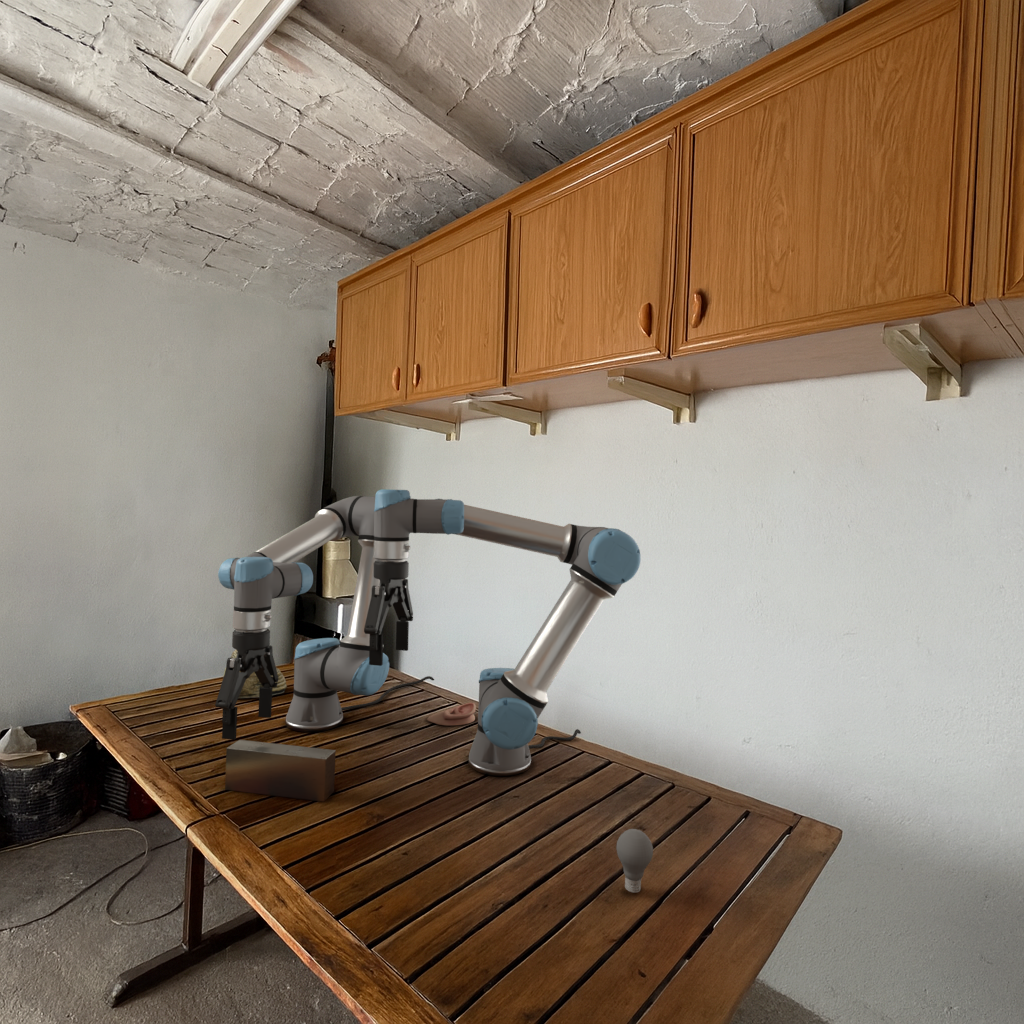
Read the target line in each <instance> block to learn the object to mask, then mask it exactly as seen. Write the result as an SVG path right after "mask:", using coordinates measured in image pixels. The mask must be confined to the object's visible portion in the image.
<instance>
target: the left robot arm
mask: <svg viewBox="0 0 1024 1024" xmlns="http://www.w3.org/2000/svg"><path fill="white" fill-rule="evenodd" d="M374 509H375V496H366V495H354V496H349V497H346V498H345V497H344V498H343V499H340V500H338V501H336V502H333V503H331V504H329V505H327V506H324V507H323V508H321V509H320V510H318V511H317V512H316V513H315V515H314V517H313V518H311V519H310V520H308V521H306V522H304V523H303V524H301V525H299V526H297V527H295V528H294V529H292V530H291V531H288V532H287V533H285V534H283V535H282V536H280V537H277V539H274V540H273V541H271V542H269V543H268V544H266V545H264V546H262V547H261V548H259V549H257V550H255V551H254V552H252V553H250V554H248V555H246V556H244V557H243V556H242V557H231V558H227V559H225V560H224V561H222V563H221V564H220V565H219V569H218V574H217V576H218V581H219V583H220V584H221V586H222V587H224V588H225V589H229V590H234V591H233V613H232V614H233V615H232V628H233V631H232V635H231V636H232V637H231V640H232V641H231V647H232V649H234V650H237V657H236V658H230V657H227V659H226V666H225V668H226V671H225V670H224V672H225V674H224V673H223V675H224V676H223V677H222V681H221V684H220V688H219V690H218V694H217V698H216V700H215V704H214V705H215V708H220V709H222V716H221V717H222V718H221V719H222V720H221V723H222V724H221V725H222V727H221V739H222V740H231V741H235V740H236V739H237V728H238V727H237V726H238V706H236V705H237V702H238V700H239V698H238V697H239V695H240V693H241V690H242V688H243V686H244V683H245V681H246V679H247V678H249V677H250V675H251V674H252V673H253V672H255V674H256V676H257V677H258V679H259V681H260V683H261V685H262V686H264V687H261V688H259V697H258V712H257V713H258V714H257V715H258V718H265V719H270V718H272V709H273V708H272V706H273V695H272V687H274V688H276V687H277V685H278V683H275V682H278V680H279V678H278V674H277V670H276V668H277V665H276V662H275V657H274V654H273V653H274V652H273V650H274V649H273V648H274V647H273V645H270V644H271V630H270V629H269V628H270V627H271V619H272V617H273V616H272V615H271V614H272V600H273V599H279V598H286V597H297V596H299V595H303V594H305V593H307V592H309V590H310V589H311V588H312V586H313V583H314V574H313V571H312V569H311V567H310V566H309V565H308V564H306V563H305V562H299V561H300V560H301V559H303V558H305V557H306V556H308V555H309V554H311V553H312V552H314V551H316V550H317V549H319V548H320V547H322V546H324V545H325V544H327V543H328V542H336V541H339V540H340V539H342V538H346V537H358V539H357V543H358V544H359V545H360V547H361V553H360V559H359V565H358V571H357V577H356V582H355V588H354V594H353V600H352V605H351V611H350V617H349V618H350V619H349V624H348V630H347V634H346V635H345V636H344V637H343V638H342V639H340V640H339V638H336V637H322V638H313V639H307V640H304V641H302V642H299V643H298V644H297V645H296V647H295V652H294V653H295V654H294V657H293V659H294V660H293V662H294V663H293V665H294V667H293V695H292V696H293V697H292V699H291V702H290V704H289V708H288V711H287V713H286V715H285V726H286V728H287V729H289V730H291V731H294V732H295V731H296V732H301V733H316V732H325V731H329V730H332V729H335V728H337V727H339V726H340V725H342V723H343V722H344V714H343V711H348V710H353V709H354V710H355V709H360V708H366V707H369V706H373V705H376V704H378V703H380V702H381V701H382V700H383V699H384V697H386V696H387V695H388V694H389V693H391V692H392V691H395V690H397V689H399V688H403V687H408V686H413V685H419V684H420V683H422V682H424V681H426V680H430V681H435V679H434V677H433V676H430V675H427V676H424V677H423V678H420V679H418V680H415V681H410V682H407V683H406V682H405V683H400V684H397V685H395V686H392V687H390V688H389V689H387V690H386V691H385V692H384V693H382V694H381V695H380V696H379V698H377V699H375V700H373V701H370V702H366V703H360V704H353V705H348V706H341V702H340V699H339V695H338V692H343V693H349V694H352V695H353V696H372V695H374V694H376V693H377V692H378V691H379V690H380V689H381V687H383V685H384V684H385V682H386V680H387V678H388V675H389V671H390V661H389V656H388V655H387V654H385V653H384V652H383V665H382V666H377V665H369V640H370V634H365V632H364V627H365V623H366V618H367V614H368V609H369V605H370V600H371V595H372V586H379V584H380V580H379V579H376V578H374V576H373V570H374V562H375V561H376V559H375V558H374ZM410 534H411V533H409V535H410ZM383 647H384V644H383ZM275 665H276V666H275ZM233 669H234V670H233ZM271 675H272V676H273V677H272V676H271Z"/></svg>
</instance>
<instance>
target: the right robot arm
mask: <svg viewBox="0 0 1024 1024" xmlns="http://www.w3.org/2000/svg"><path fill="white" fill-rule="evenodd" d="M374 497H375V509H374V558H375V559H376V561H375V562H374V570H373V576H374V578H376V579H379V580H380V584H379V586H372V595H371V600H370V605H369V609H368V614H367V618H366V623H365V627H364V632H365V634H370V640H369V665H377V666H382V665H383V653H384V646H383V645H384V633H382V631H383V628H384V625H385V622H386V618H387V615H388V613H389V610H390V608H391V607H393V610H394V612H395V614H396V617H397V621H395V622H396V624H395V626H396V627H395V650H396V651H406V652H407V651H409V632H410V630H409V625H410V624H409V623H410V622H413V620H414V610H413V606H412V600H411V594H410V590H409V579H408V578H409V571H410V570H409V569H410V567H409V566H410V565H409V561H408V559H409V553H410V552H409V551H410V550H411V545H410V534H432V535H433V534H437V535H439V534H440V535H448V536H449V535H456V536H461V537H465V538H470V539H475V540H479V541H484V542H488V543H492V544H496V545H501V546H505V547H510V548H515V549H518V550H519V549H520V550H524V551H527V552H533V553H538V554H542V555H546V556H552V557H555V558H557V559H558V561H559V562H560V563H564V564H568V565H571V567H570V568H569V574H570V581H569V582H568V583H567V585H566V587H565V588H564V590H563V592H562V593H561V595H560V596H559V598H558V599H557V601H556V603H555V604H554V606H553V607H552V609H551V611H550V612H549V614H548V615H547V616H546V619H545V620H544V622H543V623H542V625H541V626H540V628H539V630H538V631H537V632H536V634H535V635H534V637H533V639H532V641H531V643H530V644H529V645H528V647H527V648H526V650H525V652H524V653H523V655H522V657H521V658H520V659H519V662H518V663H517V664H516V666H515V668H512V667H490V668H484V669H482V670H481V671H480V673H479V679H478V685H479V686H478V707H477V709H478V710H477V729H476V734H475V736H474V739H473V740H472V741H473V742H472V744H471V747H470V749H469V750H470V751H469V754H468V765H469V767H471V769H473V770H474V771H476V772H478V773H481V774H483V775H487V776H496V777H509V776H510V777H511V776H516V775H519V774H522V773H524V772H526V771H528V770H529V769H530V768H531V765H532V755H531V750H532V749H540V748H543V747H544V746H545V742H546V741H561V742H568V741H573V740H574V739H576V737H577V736H578V734H579V735H581V734H582V732H581V730H580V729H579V728H577V729H575V730H574V732H573V734H572V735H571V736H569V737H563V736H555V735H554V736H553V735H551V736H550V735H549V736H548V735H547V736H544V737H542V739H541V742H540V743H537V744H530V745H529V743H530V742H531V741H532V740H533V739H534V737H535V735H536V734H537V731H538V726H539V722H538V721H539V720H538V719H539V717H540V716H541V714H542V712H543V711H544V710H545V707H546V706H547V705H548V703H549V698H548V690H549V688H550V687H551V685H552V683H553V682H554V680H555V678H556V677H557V676H558V674H559V672H560V670H561V669H562V668H563V666H564V664H565V663H566V661H567V659H568V658H569V656H570V655H571V653H572V652H573V650H574V649H575V647H576V646H577V644H578V642H579V640H580V639H581V638H582V635H583V634H584V633H585V631H586V629H587V627H588V626H589V624H590V623H591V621H592V620H593V618H594V616H595V615H596V614H597V612H598V611H599V608H601V605H602V604H603V602H604V601H606V600H608V599H613V598H614V597H615V596H616V594H617V593H618V592H619V589H620V588H621V587H622V585H623V584H626V583H627V582H629V581H630V580H631V579H633V578H634V577H635V575H636V574H637V573H638V571H639V568H640V566H641V560H642V558H641V557H642V555H641V550H640V548H639V545H638V543H637V542H636V540H635V539H634V538H633V537H632V536H631V535H630V534H628V533H627V532H625V531H623V530H620V529H619V528H612V527H611V528H610V527H605V526H585V525H577V524H572V523H567V524H566V525H564V526H563V525H558V524H554V523H550V522H546V521H545V522H544V521H540V520H537V519H536V520H535V519H531V518H526V517H522V516H518V515H513V514H509V513H504V512H500V511H495V510H490V509H487V508H482V507H477V506H472V505H469V504H465V503H464V502H463V500H460V499H452V498H447V499H443V498H434V499H432V498H431V499H430V498H429V499H425V498H424V499H418V498H412V496H411V492H410V490H408V489H385V488H384V489H382V488H381V489H378V490H377V491H376V493H375V495H374ZM409 533H410V534H409Z"/></svg>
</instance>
